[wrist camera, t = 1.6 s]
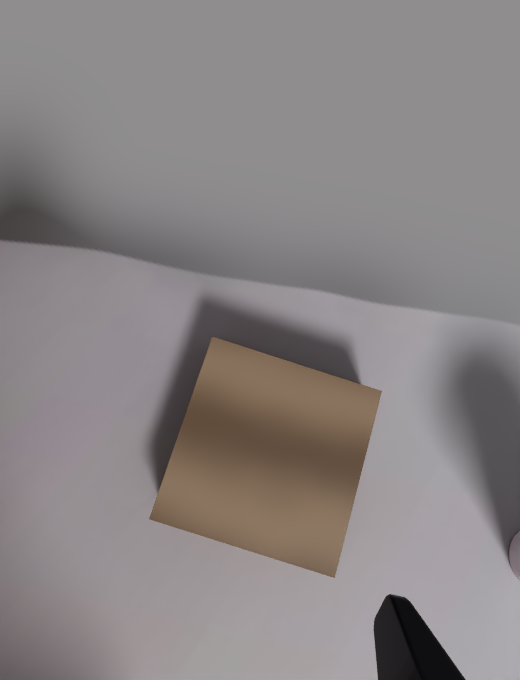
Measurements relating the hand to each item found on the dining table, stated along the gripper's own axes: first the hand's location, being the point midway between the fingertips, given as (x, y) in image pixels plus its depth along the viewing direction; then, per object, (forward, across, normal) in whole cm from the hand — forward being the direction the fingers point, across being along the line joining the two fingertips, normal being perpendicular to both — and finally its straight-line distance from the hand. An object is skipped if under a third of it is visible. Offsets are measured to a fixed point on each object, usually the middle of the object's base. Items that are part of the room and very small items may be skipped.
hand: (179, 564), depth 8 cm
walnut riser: (+14, -3, +7) cm, 15 cm away
